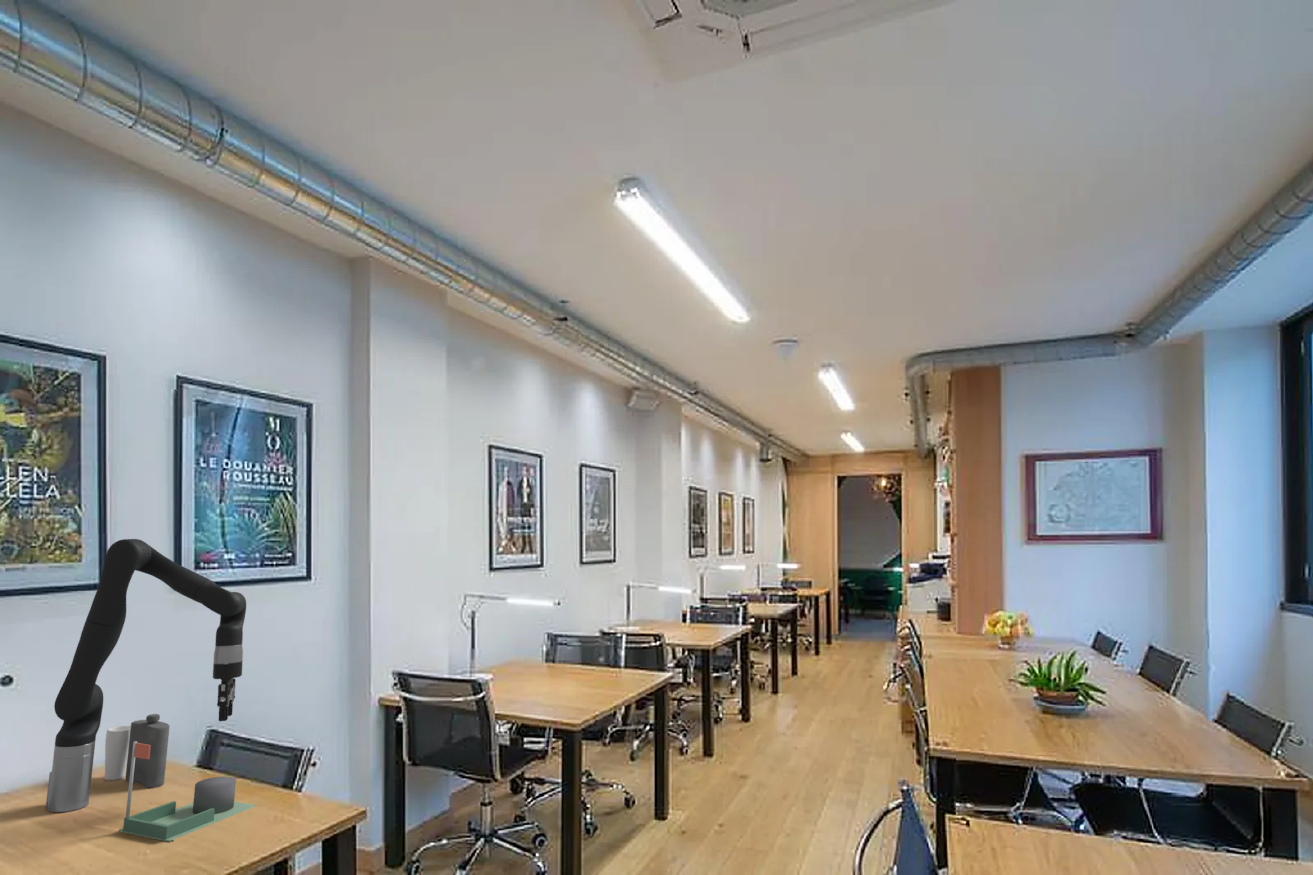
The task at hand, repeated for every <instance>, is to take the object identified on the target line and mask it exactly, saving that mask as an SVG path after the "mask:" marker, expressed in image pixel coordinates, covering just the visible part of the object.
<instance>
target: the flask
mask: <svg viewBox="0 0 1313 875" xmlns="http://www.w3.org/2000/svg"><path fill="white" fill-rule="evenodd" d="M160 718H161V715H160V714H159V713H151V714H148V715H147V716H146V719H138V720H134V721H132V722H131V723H130V726H131V729H130V739H129V749H128V759H127V766H126V773H125V777H124V779H125V782H126V783H129V779H130V769H131V760H132V750H133V742H135V741H137V743H141V744H147V745H151V747H150V757H149V759H143V758H137V757H135V766H134V776H133V784H136V783H137V785H139V786H143V787H145V788H146V787H148V788H147V789H153V788H152V787H156V788H160V787H162V786H163V785H164V784H165V779H166V778H165V776H166V769H167V768H166V766H167V757H168V756H167V755H168V748H169V747H168V746H169V745H168V744H169V735H170V724H168V723H167V722H163V721H160Z"/></svg>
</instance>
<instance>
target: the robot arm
mask: <svg viewBox="0 0 1313 875" xmlns="http://www.w3.org/2000/svg"><path fill="white" fill-rule="evenodd" d="M105 554H106V555H105V557H104V561H103V566H102V571H101V576H100V580H99V584H98V587H97V589H96V592H95V595H94V597H93V599H92V603H91V604H90V605H91V606H90V609H89V611H88V614H87V616H86V619H85V622H84V624H83V628H82V630H81V633H80V637H79V641H78V643H77V646H76V649H75V653H74V655H73V658H72V662H71V665H70V668H69V670H68V673H67V674H66V677H65V679H64V681H63V683H62V685H61V687H60V690H59V691H58V694H57V695H56V697H55V701H54V712H55V715H56V716H57V718H59V720H62V721H63V722H62V725H61V728H60V729H59V731H58V732H57V734H56V736H55V740H54V749H53V750H54V751H53V759H52V766H51V767H52V768H51V771H50V772H49V775H48V776H49V777H48V783H47V792H46V802H45V809H47V811H48V812H51V813H66V812H71V811H76V810H79V809H83V808H85V807H87V806H88V805H89V803H90V793H91V785H92V778H93V777H92V775H93V767H94V766H93V765H94V757H95V749H96V748H95V747H96V738H97V734H98V731H99V728H100V727H101V721H102V714H103V708H104V707H103V706H104V692H103V690H102V688H101V687H100V685H98V684H96V682H97V680H98V676H99V673H100V672H101V669H102V668H103V666H104V664H105V663H106V661H107V660H108V658H109V657H110V656H111V654H112V653H113V650H114V649H115V647H116V646H117V644H118V641H119V639H120V636H121V634H122V632H123V628H124V625H125V622H126V618H127V593H128V590H129V589H128V587H129V585H130V582H131V580H132V577H133V575H134V573H135V571H137V572H141V573H142V574H143V573H144V574H147V575H150V576H152V577H155V578H156V579H158V580H160V581H161V582H162V583H164V584H166V585H167V586H168V587H169V588H171V589H172V590H173V591H175V592H176V593H178V594H180V595H181V596H184V597H186V598H188V599H190V600H192V601H194V602H196V603H199V604H201V605H203V606H204V607H205V608H207V609H208V610H211V611H212V612H214V613H215V614H218V615H219V616H220V617H219V625H218V627H217V629H216V631H215V646H214V652H213V662H212V663H213V666H212V678H213V680H221V681H220V684H218V685H217V704H216V705H217V707H218V721H219V722H226V721H227V720H228V718H229V717H231V716H232V715H233V709H234V708H233V706H234V704H233V703H234V701H235V698H236V678H239V677H242V675H243V660H244V659H243V657H244V648H243V641H244V638H243V637H244V634H243V633H244V632H243V630H244V628H243V627H244V624H245V617H246V612H247V600H246V597H245V596H244V595H243V593H241V592H239V591H238V592H237V591H230V590H227V589H225V588H223V587H221V586H219V585H217V583H216V582H214V581H213V580H211V579H209V578H208V577H205V576H203V575H201V574H199V573H197V572H195V571H193V570H191V569H189V568H187V567H185V566H183V565H180V564H179V563H177V562H175V561H173V560H172V559H169V558H168V557H166V556H165V555H163V554H162V553H161V552H159V551H157V549H155V548H153V546H151V545H149V544H148V543H147V542H145V541H143V540H142V539H137V538H130V539H129V538H126V539H120V540H117V541H115V542H114V543H112V544H111V545H110V547H109V548H108V549H107V550H106V553H105Z"/></svg>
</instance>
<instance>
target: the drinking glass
mask: <svg viewBox="0 0 1313 875" xmlns="http://www.w3.org/2000/svg"><path fill="white" fill-rule="evenodd" d="M130 729H131V725H118V726H113V727H110V728H108V729H106V734H105V740H104V741H105V743H104V744H105V745H104V750H105V751H104V752H105V753H104V758H105V760H104V776H103V777H104V780H105V781H109V780H112V781H118V779H119V780H122V779H124V778H126V768H127V759H128V749H129V739H130Z"/></svg>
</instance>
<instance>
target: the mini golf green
mask: <svg viewBox="0 0 1313 875" xmlns="http://www.w3.org/2000/svg"><path fill="white" fill-rule="evenodd" d="M150 747H151V745H147V744H141V743H137V741H135V742H133V750H132V760H131V769H130V779H129V782H128V790H127V801H126V808H125V809H126V812H125V817H124V818H123V827H122V828H120V829H118V832H120V833H123V834H124V833H125V834H129V835H133V836H138V837H145V838H147V839H154V840H158V841H164V842H168V843H172V842H174V840H176V839H178V838H180V837H183V836H186V835H188V834H190V833H193V832H195V831H198V830H200V829H203V828H206V827H208V826H210V825H212V824H215V823H217V822H221V821H222V820H225V819H228V818H230V817H233V816H235V815H237V814H240V813H243V812H245V811H247V810H249V809H252V808H255V807H258V805H257V804H252V803H251V804H250V803H246V802H240V801H235V800H234V807H233V808H232V809H230V810H228V811H226V812H223V813H219V814H214V812H215V809H214V808H211V809H209V810H206V811H203V812H201V813H198V814H194V813H193V803H194V802H190V803H188V804H186V805H183V806H180V807H178V808H176V806H177V800H176V801H174V800H172V801H170V802H167V803H164V804H161V805H158V806H155V807H153V808H149V809H148V810H144V811H141V812H138V813H136V814H133V815H131V814H130V813H131V803H132V795H133V784H134V783H133V776H134V766H135V757H137V758H143V759H149V757H150Z"/></svg>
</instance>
